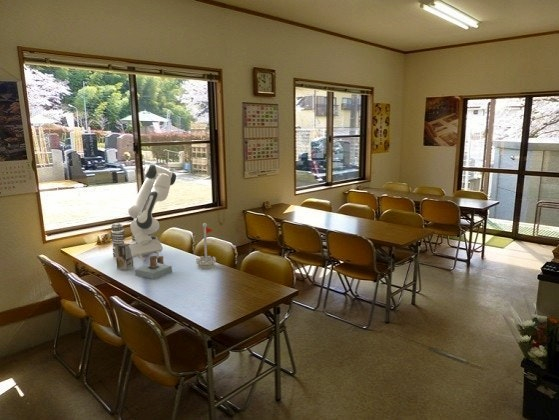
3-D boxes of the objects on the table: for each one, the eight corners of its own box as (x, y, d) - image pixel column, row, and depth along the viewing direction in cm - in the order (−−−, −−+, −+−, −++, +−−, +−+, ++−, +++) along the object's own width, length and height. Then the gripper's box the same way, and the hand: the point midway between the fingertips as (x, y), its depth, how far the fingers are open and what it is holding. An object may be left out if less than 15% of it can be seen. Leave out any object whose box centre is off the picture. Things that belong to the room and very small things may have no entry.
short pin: (156, 266, 273) (155, 257, 271) (160, 264, 276) (159, 255, 275) (160, 267, 271) (159, 257, 270) (164, 265, 274) (164, 256, 273)
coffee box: (134, 267, 271) (132, 244, 268) (126, 270, 265) (125, 246, 262) (123, 265, 275) (122, 242, 271) (116, 268, 269) (114, 244, 266)
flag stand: (197, 270, 265) (195, 225, 259) (195, 264, 277) (194, 221, 271) (217, 268, 268) (215, 224, 262) (214, 262, 280) (213, 220, 275)
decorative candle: (123, 259, 288) (120, 225, 283) (110, 259, 288) (107, 225, 283) (128, 255, 297) (125, 222, 292) (115, 255, 297) (113, 222, 292)
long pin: (149, 273, 258) (148, 257, 256) (153, 271, 262) (152, 255, 260) (153, 274, 256) (152, 258, 254) (158, 272, 260) (157, 256, 258)
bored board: (135, 275, 256) (134, 269, 255) (153, 267, 270) (153, 262, 269) (153, 279, 248) (153, 273, 248) (172, 271, 262) (171, 265, 261)
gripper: (129, 241, 254) (136, 260, 249) (159, 236, 268) (166, 253, 263) (126, 247, 258) (133, 265, 253) (156, 241, 272) (163, 258, 267)
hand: (150, 259), depth 258 cm, fingers open, 8 cm apart
